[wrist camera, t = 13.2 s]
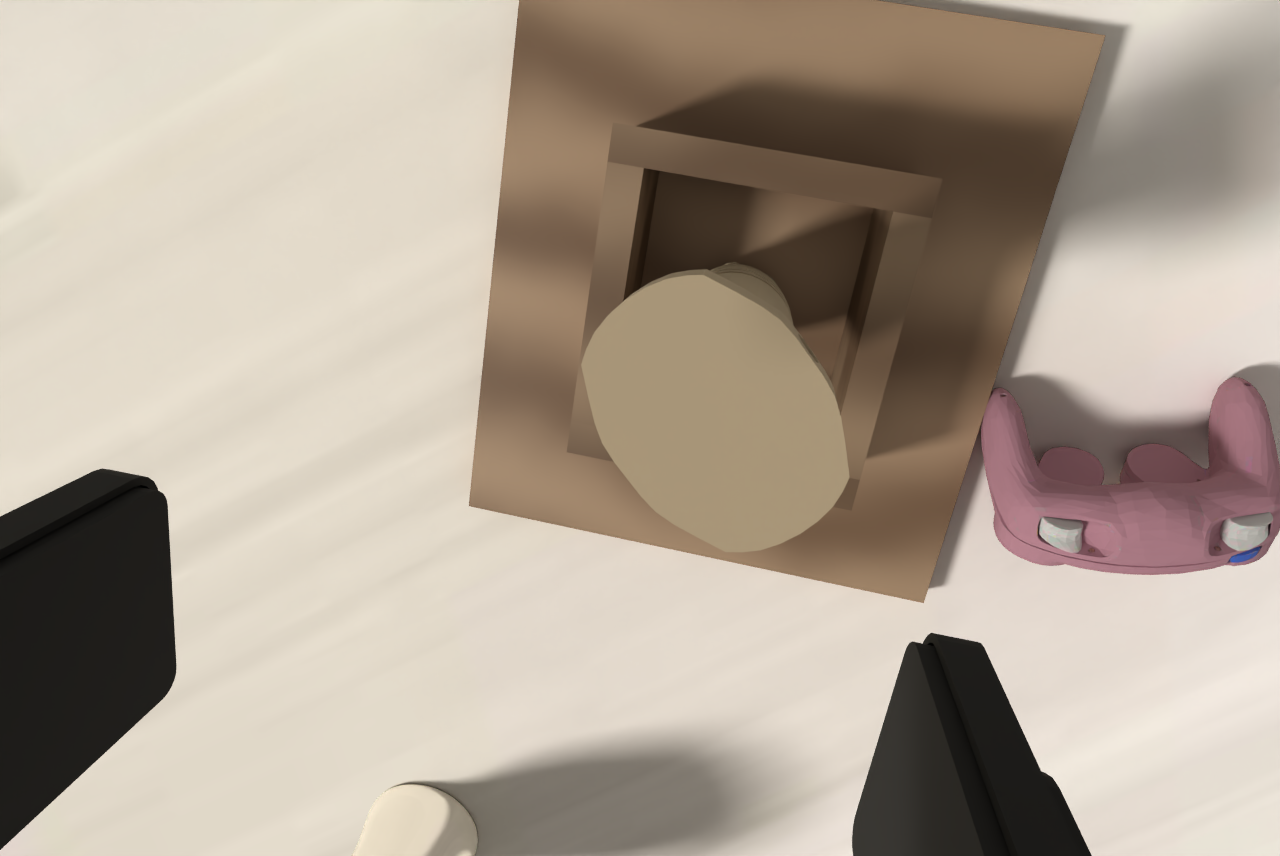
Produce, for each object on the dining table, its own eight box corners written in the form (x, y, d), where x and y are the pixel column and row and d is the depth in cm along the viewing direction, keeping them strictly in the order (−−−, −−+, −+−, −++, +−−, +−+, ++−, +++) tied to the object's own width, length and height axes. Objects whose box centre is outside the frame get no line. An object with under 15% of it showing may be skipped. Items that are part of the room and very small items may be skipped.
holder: (532, -48, 30) (483, -90, 25) (1094, 39, 28) (1168, 13, 23) (476, 496, 37) (430, 552, 32) (919, 591, 36) (945, 665, 30)
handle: (741, 195, 30) (718, 229, 16) (837, 334, 32) (895, 477, 17) (639, 273, 32) (538, 365, 18) (735, 402, 33) (711, 586, 19)
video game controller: (961, 457, 35) (998, 596, 30) (977, 377, 32) (1020, 518, 27) (1215, 449, 33) (1297, 594, 29) (1258, 364, 30) (1358, 511, 25)
